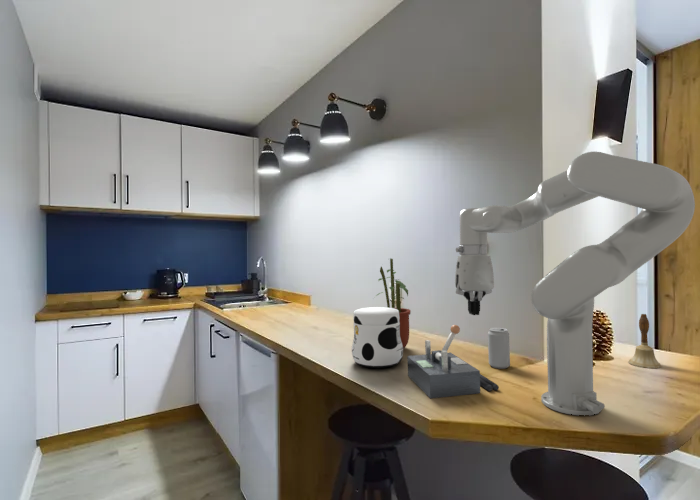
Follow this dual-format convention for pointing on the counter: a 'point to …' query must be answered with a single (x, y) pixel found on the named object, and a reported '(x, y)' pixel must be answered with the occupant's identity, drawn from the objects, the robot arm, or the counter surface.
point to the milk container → (377, 337)
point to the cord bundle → (488, 383)
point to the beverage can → (498, 348)
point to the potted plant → (397, 303)
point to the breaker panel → (443, 374)
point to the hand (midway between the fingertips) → (474, 314)
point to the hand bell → (644, 348)
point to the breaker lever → (449, 340)
